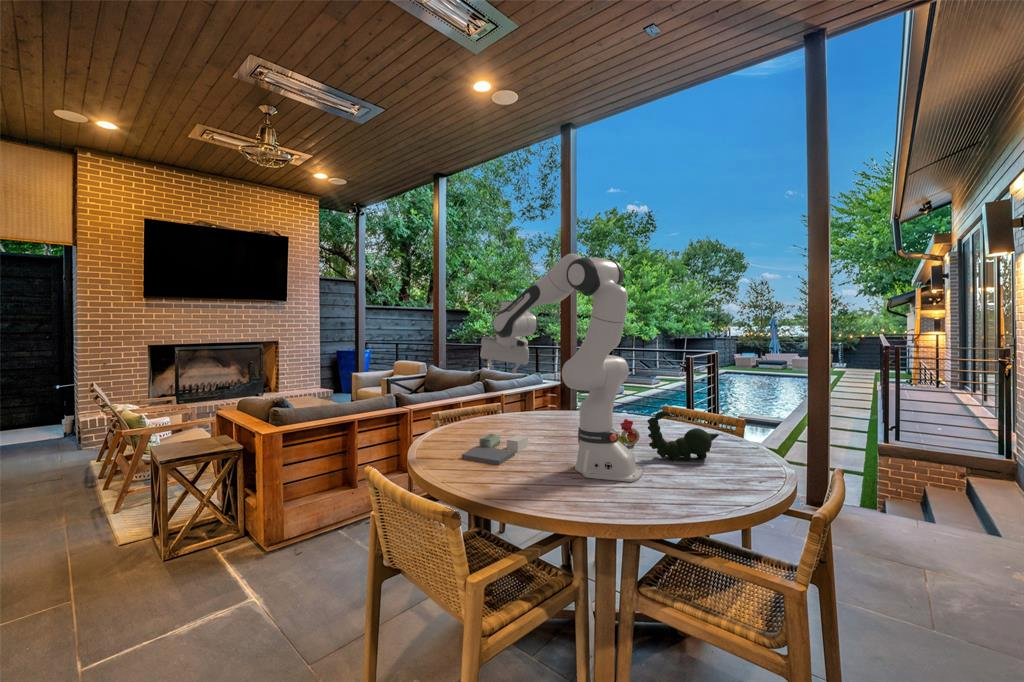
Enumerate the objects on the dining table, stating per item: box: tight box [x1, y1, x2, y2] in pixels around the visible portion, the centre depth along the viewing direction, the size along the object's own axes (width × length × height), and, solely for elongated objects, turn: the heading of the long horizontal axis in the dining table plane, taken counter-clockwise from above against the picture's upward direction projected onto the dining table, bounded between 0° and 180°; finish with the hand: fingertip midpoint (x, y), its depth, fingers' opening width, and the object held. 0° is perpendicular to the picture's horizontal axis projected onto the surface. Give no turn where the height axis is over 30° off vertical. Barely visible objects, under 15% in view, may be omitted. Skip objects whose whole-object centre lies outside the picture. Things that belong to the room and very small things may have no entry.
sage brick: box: [478, 433, 501, 449], centre depth 179 cm, size 5×8×4 cm, turn 153°
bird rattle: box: [618, 418, 640, 447], centre depth 179 cm, size 6×11×9 cm
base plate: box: [461, 445, 516, 466], centre depth 167 cm, size 16×12×2 cm
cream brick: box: [506, 434, 529, 453], centre depth 177 cm, size 5×8×4 cm, turn 148°
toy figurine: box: [646, 410, 720, 462], centre depth 162 cm, size 9×19×25 cm
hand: (502, 371), depth 185 cm, fingers open, 8 cm apart
